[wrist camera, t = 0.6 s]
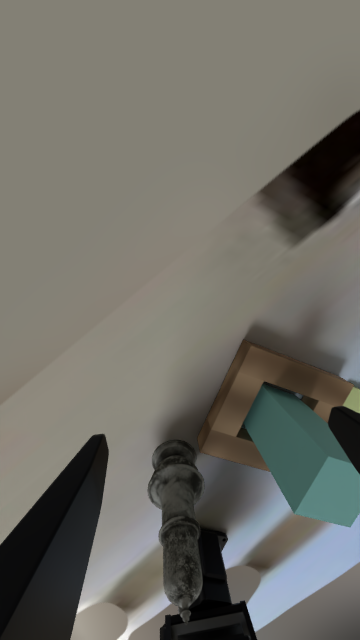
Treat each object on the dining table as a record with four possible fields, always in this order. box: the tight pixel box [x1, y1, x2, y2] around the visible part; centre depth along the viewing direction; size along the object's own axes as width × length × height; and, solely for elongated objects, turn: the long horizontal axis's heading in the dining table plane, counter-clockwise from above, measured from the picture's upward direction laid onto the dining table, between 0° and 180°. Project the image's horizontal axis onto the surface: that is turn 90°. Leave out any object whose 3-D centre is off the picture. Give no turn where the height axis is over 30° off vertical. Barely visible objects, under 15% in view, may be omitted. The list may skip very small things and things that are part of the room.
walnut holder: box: [197, 340, 354, 472], centre depth 23 cm, size 13×13×2 cm
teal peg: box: [243, 384, 360, 527], centre depth 19 cm, size 5×5×10 cm
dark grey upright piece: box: [148, 440, 205, 625], centre depth 19 cm, size 6×6×12 cm
